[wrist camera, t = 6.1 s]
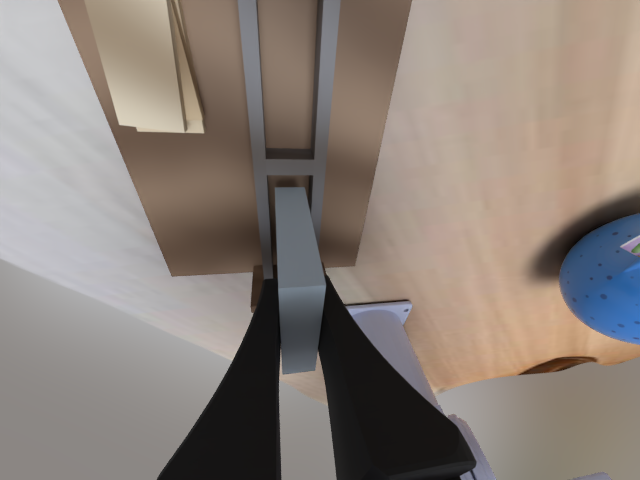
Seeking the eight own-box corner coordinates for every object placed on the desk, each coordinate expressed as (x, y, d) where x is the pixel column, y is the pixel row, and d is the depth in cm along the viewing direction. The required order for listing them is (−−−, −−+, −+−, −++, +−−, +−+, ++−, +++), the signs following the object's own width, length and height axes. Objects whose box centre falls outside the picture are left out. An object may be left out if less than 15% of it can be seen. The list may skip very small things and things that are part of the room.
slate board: (301, 269, 17) (315, 370, 12) (278, 271, 17) (282, 374, 12) (304, 187, 13) (325, 285, 8) (274, 187, 13) (278, 288, 8)
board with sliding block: (351, 257, 20) (368, 303, 17) (175, 266, 18) (154, 320, 15) (416, -69, 10) (494, -123, 6) (21, -134, 8) (-176, -266, 4)
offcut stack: (209, 130, 12) (203, 140, 11) (138, 128, 12) (124, 138, 11) (177, -45, 9) (163, -56, 8) (73, -58, 8) (41, -73, 7)
